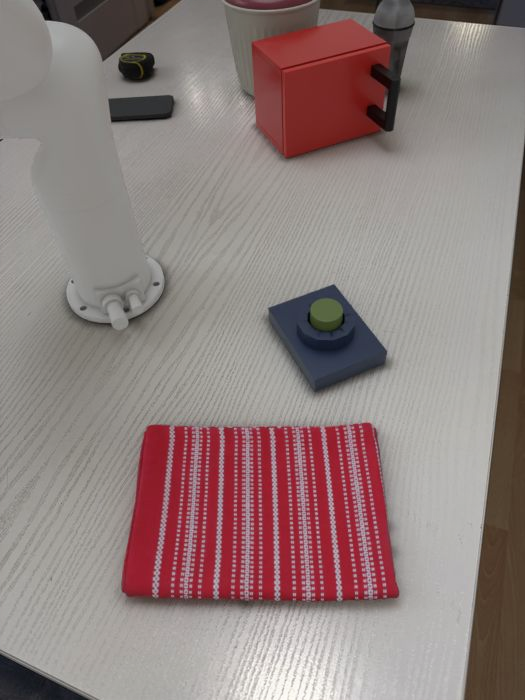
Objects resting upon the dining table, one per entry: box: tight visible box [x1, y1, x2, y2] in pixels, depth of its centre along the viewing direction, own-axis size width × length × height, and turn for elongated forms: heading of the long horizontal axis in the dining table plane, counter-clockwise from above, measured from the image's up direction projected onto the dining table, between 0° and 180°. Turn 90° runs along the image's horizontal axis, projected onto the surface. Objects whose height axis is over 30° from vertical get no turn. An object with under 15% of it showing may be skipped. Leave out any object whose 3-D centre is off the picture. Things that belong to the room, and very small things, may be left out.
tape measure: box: [117, 51, 156, 80], centre depth 110 cm, size 7×7×4 cm
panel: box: [267, 283, 388, 393], centre depth 62 cm, size 12×9×4 cm
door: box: [282, 44, 402, 159], centre depth 84 cm, size 7×18×14 cm, turn 114°
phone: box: [108, 94, 175, 122], centre depth 102 cm, size 7×1×15 cm
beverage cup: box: [371, 0, 416, 95], centre depth 95 cm, size 7×7×20 cm
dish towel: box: [121, 421, 400, 603], centre depth 50 cm, size 17×24×3 cm
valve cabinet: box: [251, 18, 387, 156], centre depth 90 cm, size 11×18×14 cm, turn 114°
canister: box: [219, 0, 321, 98], centre depth 97 cm, size 18×18×21 cm
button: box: [310, 298, 343, 332], centre depth 61 cm, size 4×4×2 cm
